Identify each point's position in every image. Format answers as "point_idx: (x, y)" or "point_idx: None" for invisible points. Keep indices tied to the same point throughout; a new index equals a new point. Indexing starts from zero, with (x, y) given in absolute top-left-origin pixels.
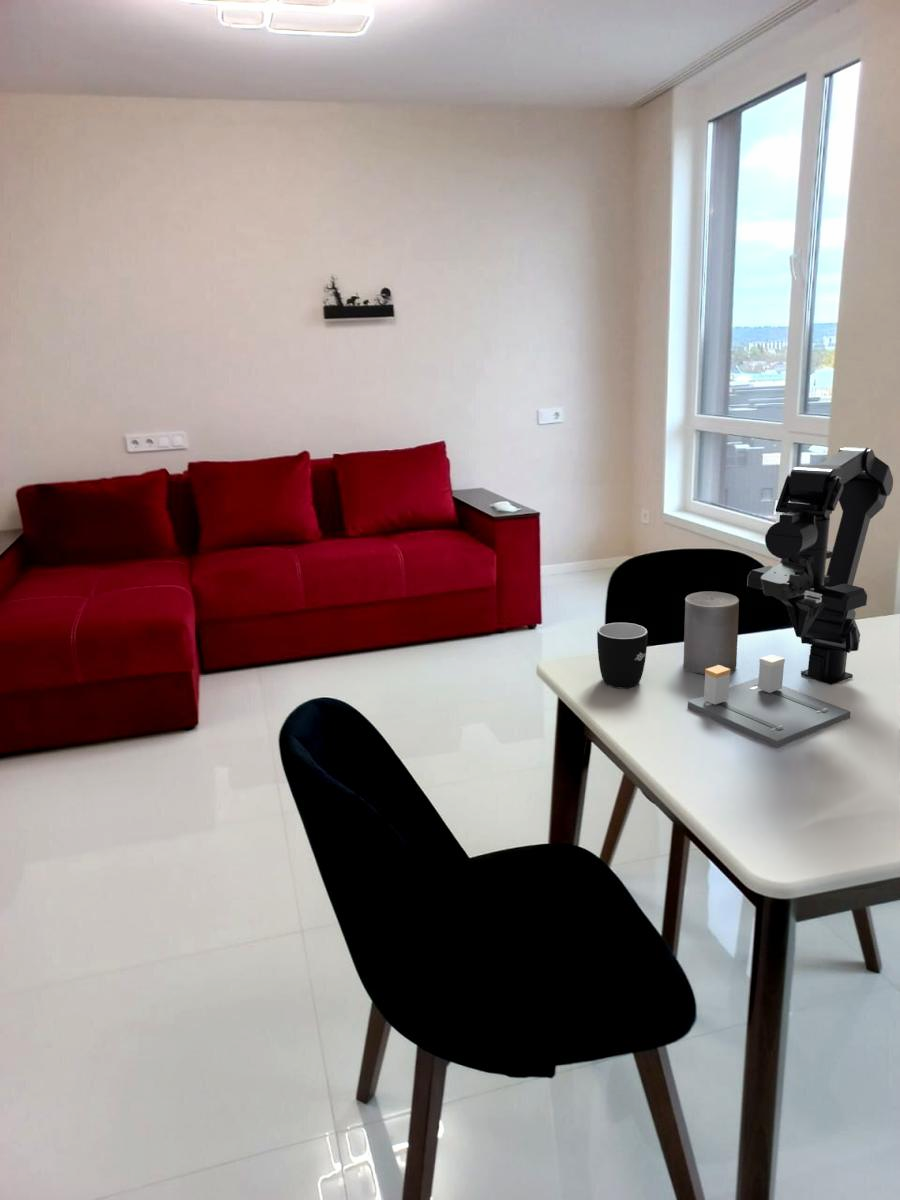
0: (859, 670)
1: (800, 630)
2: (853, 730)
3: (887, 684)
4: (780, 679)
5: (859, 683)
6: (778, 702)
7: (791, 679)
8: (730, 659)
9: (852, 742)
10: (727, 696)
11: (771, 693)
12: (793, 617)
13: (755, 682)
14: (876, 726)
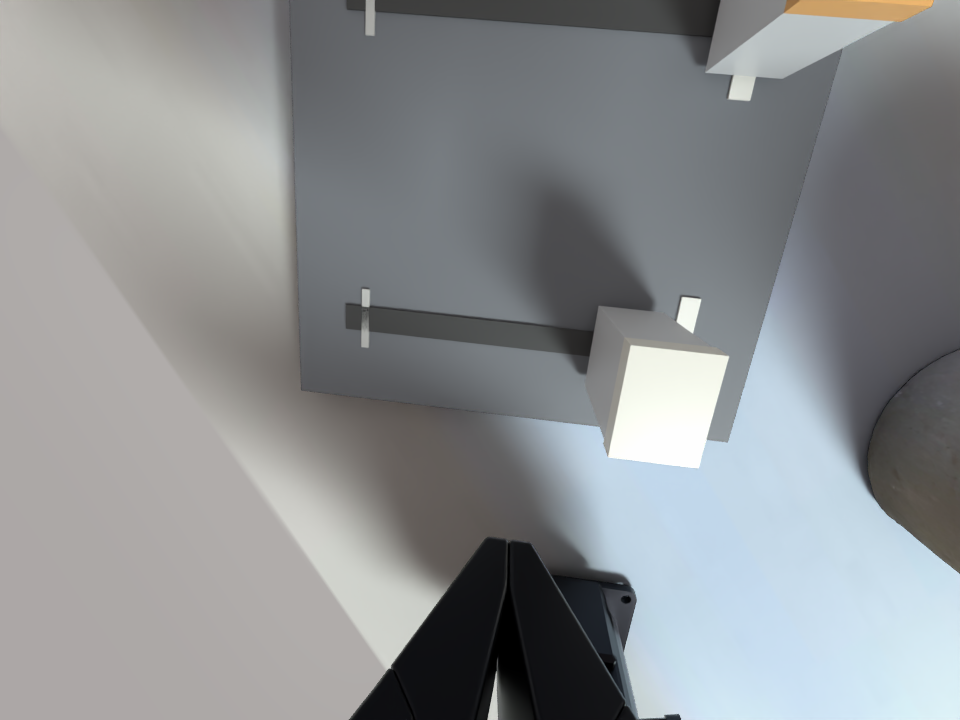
0: None
1: (473, 577)
2: (246, 298)
3: None
4: (594, 388)
5: None
6: (526, 262)
7: (637, 536)
8: (925, 466)
9: (184, 203)
10: (716, 55)
11: None
12: (575, 709)
13: None
14: (227, 382)
